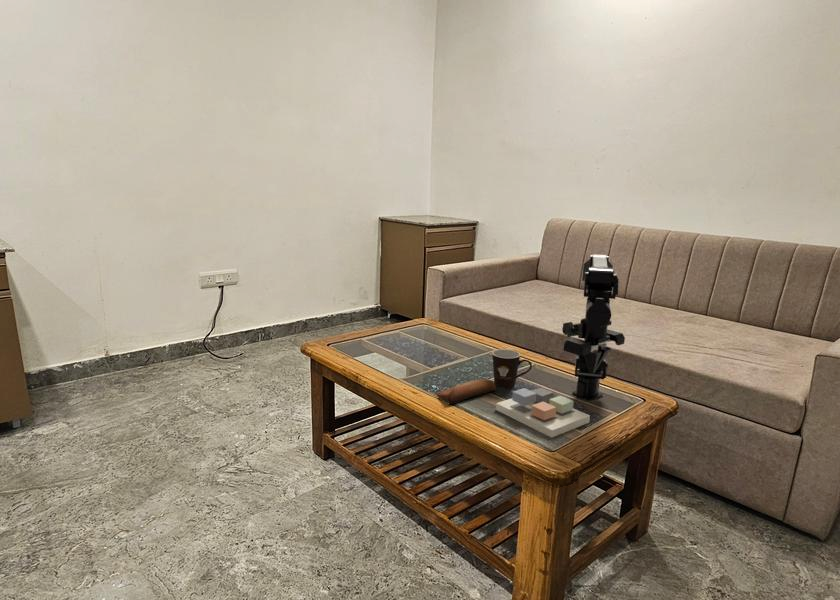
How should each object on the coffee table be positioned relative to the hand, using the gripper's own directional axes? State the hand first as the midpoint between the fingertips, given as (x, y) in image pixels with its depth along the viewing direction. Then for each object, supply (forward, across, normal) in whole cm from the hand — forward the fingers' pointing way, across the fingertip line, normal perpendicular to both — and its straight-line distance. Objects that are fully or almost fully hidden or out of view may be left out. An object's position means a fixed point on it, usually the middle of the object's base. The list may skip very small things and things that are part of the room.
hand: (591, 372), depth 147 cm
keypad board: (+13, +10, -8) cm, 18 cm away
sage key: (+10, +6, -5) cm, 13 cm away
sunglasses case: (+14, +17, -32) cm, 38 cm away
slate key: (+9, +13, -11) cm, 20 cm away
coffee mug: (+13, +1, -29) cm, 32 cm away
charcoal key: (+10, +6, -12) cm, 17 cm away
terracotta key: (+10, +13, -5) cm, 17 cm away
